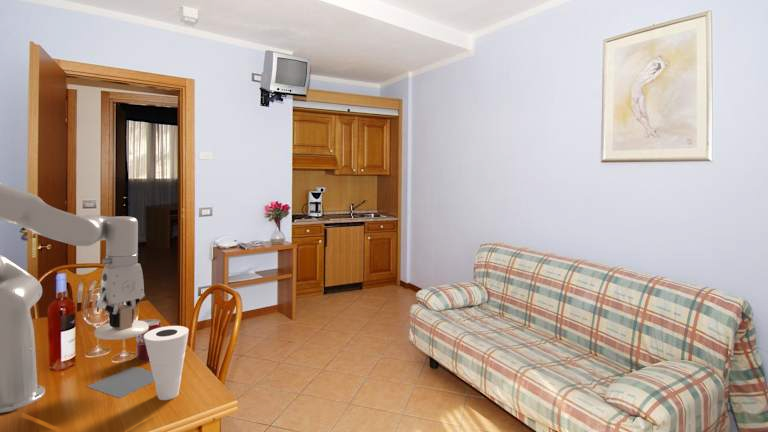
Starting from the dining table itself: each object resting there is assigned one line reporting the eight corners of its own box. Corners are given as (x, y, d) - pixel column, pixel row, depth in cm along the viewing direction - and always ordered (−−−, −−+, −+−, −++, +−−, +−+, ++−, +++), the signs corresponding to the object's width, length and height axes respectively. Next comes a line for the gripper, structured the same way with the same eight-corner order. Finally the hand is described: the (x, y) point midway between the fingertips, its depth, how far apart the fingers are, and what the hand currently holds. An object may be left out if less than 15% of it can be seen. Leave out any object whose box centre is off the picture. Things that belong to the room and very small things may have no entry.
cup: (183, 383, 122) (182, 323, 120) (195, 398, 114) (193, 334, 112) (142, 395, 115) (139, 331, 113) (151, 412, 107) (148, 344, 105)
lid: (114, 343, 111) (115, 317, 110) (83, 333, 116) (83, 308, 115) (158, 328, 123) (159, 305, 122) (128, 320, 128) (128, 298, 127)
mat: (119, 400, 112) (119, 398, 112) (86, 388, 118) (86, 386, 118) (165, 377, 125) (165, 375, 125) (133, 368, 130) (133, 366, 130)
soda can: (151, 364, 133) (150, 327, 132) (131, 361, 135) (130, 325, 134) (167, 354, 140) (166, 319, 139) (148, 352, 142) (147, 317, 141)
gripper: (100, 267, 109) (100, 336, 110) (157, 258, 124) (156, 319, 125) (82, 263, 112) (82, 330, 113) (140, 255, 127) (139, 314, 128)
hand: (121, 323), depth 119 cm, fingers closed on lid, 3 cm apart
